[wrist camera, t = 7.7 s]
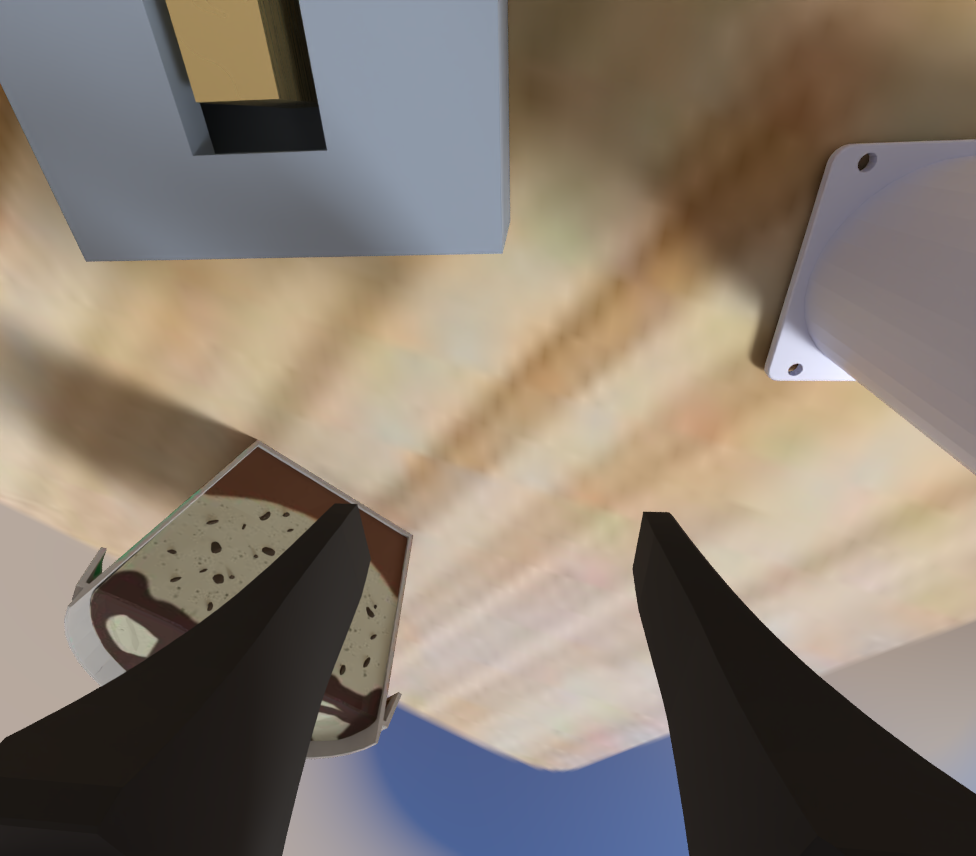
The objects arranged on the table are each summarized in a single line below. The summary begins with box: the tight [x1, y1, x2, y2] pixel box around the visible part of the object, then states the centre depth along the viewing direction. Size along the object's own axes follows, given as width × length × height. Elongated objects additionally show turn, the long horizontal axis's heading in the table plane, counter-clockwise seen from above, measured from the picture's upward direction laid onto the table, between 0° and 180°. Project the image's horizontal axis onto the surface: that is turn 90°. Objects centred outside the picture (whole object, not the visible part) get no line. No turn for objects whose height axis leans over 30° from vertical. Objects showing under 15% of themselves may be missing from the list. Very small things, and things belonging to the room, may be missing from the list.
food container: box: [64, 440, 413, 759], centre depth 22 cm, size 12×6×10 cm, turn 50°
